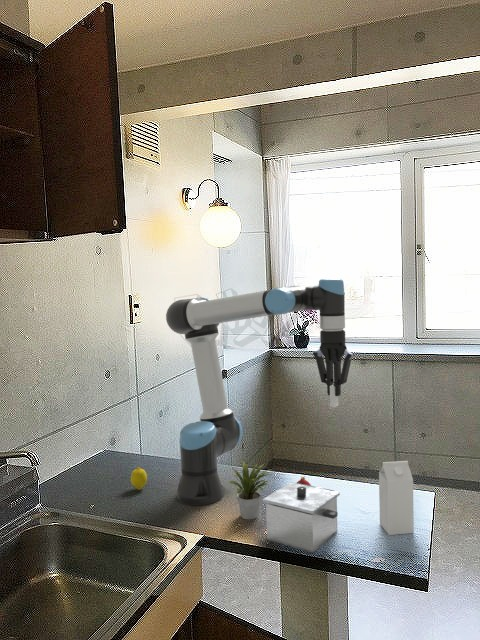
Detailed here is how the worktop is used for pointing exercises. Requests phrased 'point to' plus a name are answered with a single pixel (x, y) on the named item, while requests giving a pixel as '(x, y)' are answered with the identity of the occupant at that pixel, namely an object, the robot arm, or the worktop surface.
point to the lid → (302, 497)
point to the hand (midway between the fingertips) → (334, 406)
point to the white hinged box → (301, 526)
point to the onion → (303, 481)
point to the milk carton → (396, 498)
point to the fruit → (138, 478)
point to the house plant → (249, 491)
